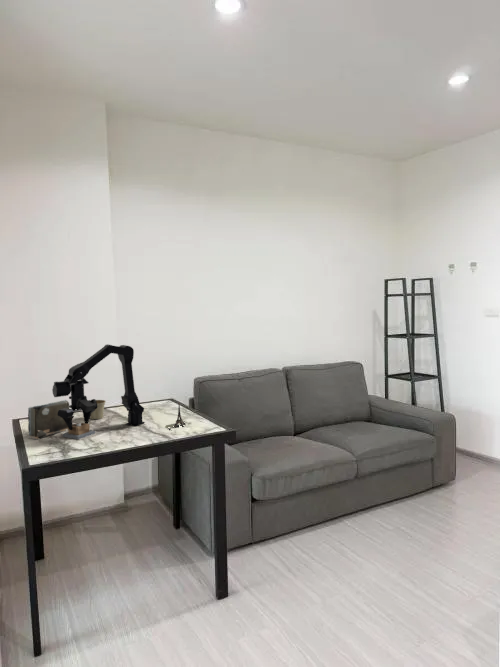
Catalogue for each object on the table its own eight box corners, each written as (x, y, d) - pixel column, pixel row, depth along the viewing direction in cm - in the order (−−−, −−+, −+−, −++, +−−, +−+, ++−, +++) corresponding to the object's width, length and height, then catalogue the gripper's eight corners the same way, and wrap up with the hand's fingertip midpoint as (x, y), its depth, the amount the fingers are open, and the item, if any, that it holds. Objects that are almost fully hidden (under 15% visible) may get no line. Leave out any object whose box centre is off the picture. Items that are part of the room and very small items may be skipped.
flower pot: (102, 420, 244) (102, 403, 244) (84, 420, 245) (84, 403, 244) (108, 415, 254) (108, 399, 253) (91, 415, 254) (90, 399, 253)
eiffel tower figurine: (186, 422, 243) (185, 396, 241) (197, 426, 235) (197, 399, 234) (160, 427, 233) (160, 400, 232) (171, 432, 225) (171, 404, 224)
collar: (79, 429, 224) (79, 422, 223) (89, 431, 221) (89, 424, 220) (68, 433, 218) (67, 425, 218) (78, 435, 215) (78, 427, 215)
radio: (66, 425, 236) (64, 395, 235) (78, 427, 232) (77, 397, 230) (23, 438, 216) (22, 405, 214) (36, 440, 211) (34, 407, 210)
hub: (95, 433, 221) (94, 422, 221) (78, 439, 213) (78, 428, 212) (79, 430, 226) (79, 420, 226) (62, 436, 217) (62, 425, 217)
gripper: (74, 399, 206) (75, 435, 207) (105, 391, 222) (106, 424, 224) (56, 397, 211) (57, 432, 212) (88, 389, 227) (89, 421, 229)
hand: (78, 427), depth 219 cm, fingers open, 9 cm apart
